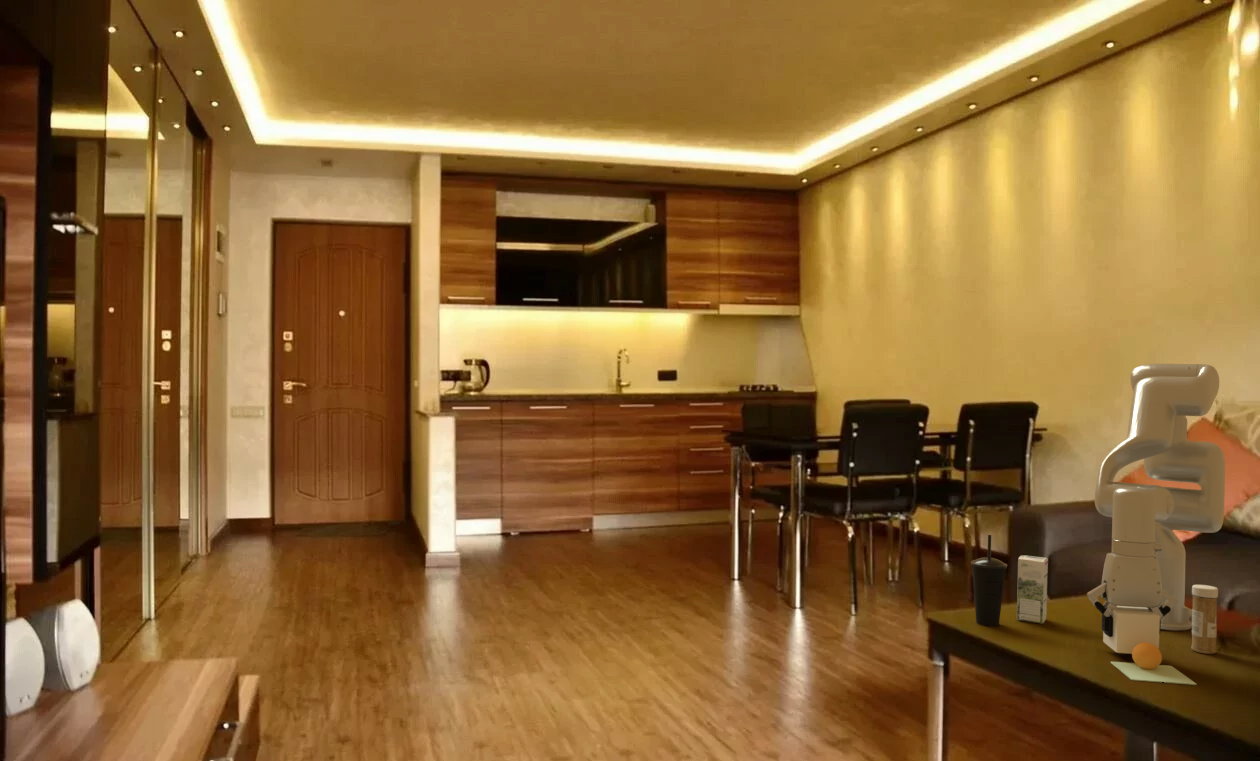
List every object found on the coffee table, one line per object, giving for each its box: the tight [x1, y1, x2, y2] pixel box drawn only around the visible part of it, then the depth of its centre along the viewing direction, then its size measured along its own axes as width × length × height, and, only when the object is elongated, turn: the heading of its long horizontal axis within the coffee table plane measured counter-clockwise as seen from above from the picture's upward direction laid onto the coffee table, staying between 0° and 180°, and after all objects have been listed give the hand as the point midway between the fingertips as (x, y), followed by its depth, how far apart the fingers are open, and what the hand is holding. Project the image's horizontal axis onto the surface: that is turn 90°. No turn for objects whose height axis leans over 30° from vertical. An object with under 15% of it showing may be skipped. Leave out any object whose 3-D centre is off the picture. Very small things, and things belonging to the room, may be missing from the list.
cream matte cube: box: [1102, 606, 1160, 655], centre depth 183 cm, size 8×8×8 cm
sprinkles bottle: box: [1190, 584, 1219, 655], centre depth 189 cm, size 5×5×14 cm
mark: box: [1110, 661, 1197, 686], centre depth 173 cm, size 11×11×1 cm
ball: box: [1131, 642, 1163, 669], centre depth 175 cm, size 5×5×5 cm
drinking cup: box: [970, 534, 1008, 627], centre depth 207 cm, size 8×8×20 cm
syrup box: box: [1016, 554, 1049, 624], centre depth 211 cm, size 6×6×14 cm
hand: (1130, 636), depth 183 cm, fingers closed on cream matte cube, 7 cm apart
